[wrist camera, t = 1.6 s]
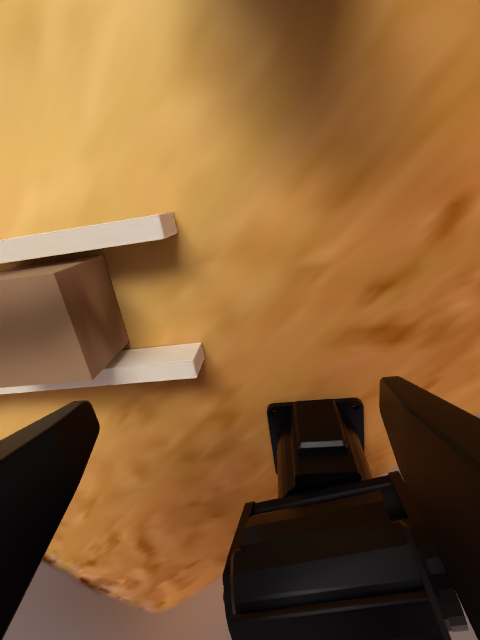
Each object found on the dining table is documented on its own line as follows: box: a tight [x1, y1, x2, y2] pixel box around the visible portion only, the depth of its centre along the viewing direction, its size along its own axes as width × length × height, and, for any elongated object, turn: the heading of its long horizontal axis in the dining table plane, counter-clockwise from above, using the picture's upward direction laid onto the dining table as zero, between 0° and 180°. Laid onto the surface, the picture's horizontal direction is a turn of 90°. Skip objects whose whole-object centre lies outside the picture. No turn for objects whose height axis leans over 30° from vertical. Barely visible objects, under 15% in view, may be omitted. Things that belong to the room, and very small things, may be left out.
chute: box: [0, 212, 205, 394], centre depth 20 cm, size 10×20×3 cm, turn 99°
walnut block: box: [0, 255, 129, 388], centre depth 19 cm, size 6×6×5 cm
